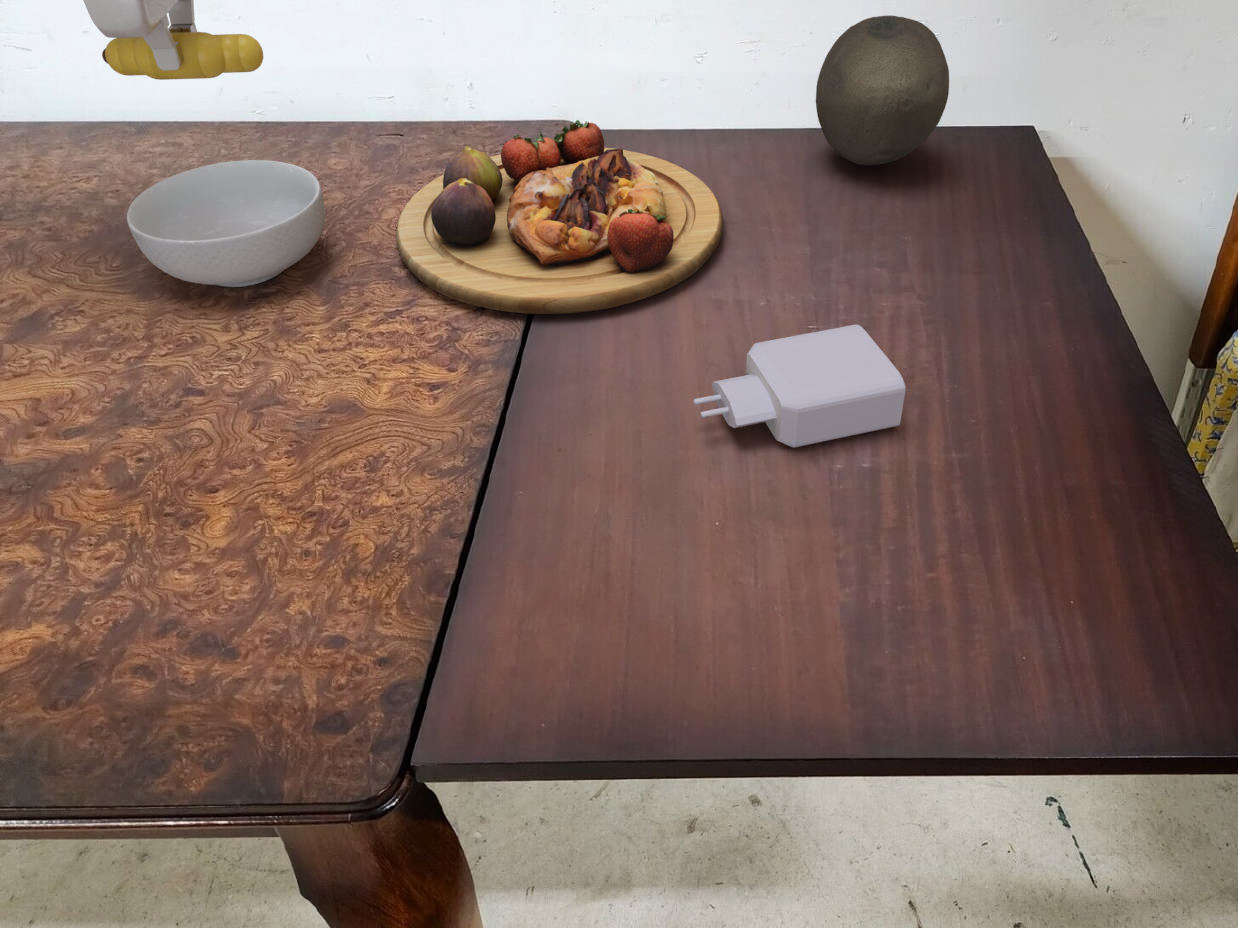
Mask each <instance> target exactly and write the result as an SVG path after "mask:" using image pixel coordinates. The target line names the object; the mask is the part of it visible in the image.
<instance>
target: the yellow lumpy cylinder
mask: <svg viewBox="0 0 1238 928" xmlns="http://www.w3.org/2000/svg"><path fill="white" fill-rule="evenodd" d="M171 35H172V37H173V39H174V41H175V42H179V45H180V48H181V53H182V55H183V58H184V60H183V63H182V64H181V66H180V67H179V68H178V69H177V70H165V71H163V70H161V69H159V67H158V66H157V64H156V61H155V58H154V55H153V52H152V49H151V48H150V47H149V45H148V44H147V43H146V41H145V40H144V38H143V37H131V38H112V39H111V40H110V41H109V42H108V43H107V44H106V47H105V48H104V49H103V50H102V51H101V56H102V59H103V61H104V62H105V63H106V65H107V64H108V66H109V67H110V68H111V69H112V70H113V71H114V72H116V73H117V74H119V75H122V76H126V77H127V76H146V77H149V78H150V79H153V80H159V81H160V80H161V81H164V80H165V81H166V80H169V81H170V80H197V79H198V80H199V79H201V80H203V79H213V78H217V77H219V76H220V75H222V74H230V73H231V74H232V73H234V74H235V73H251V72H255V71H256V70H258V69H260V67H261V66H262V63H263V61H264V51H263V47H262V46H261V44H260V42H259V41H258V40H257V39H256V38H255V37H253V36H251V35H250V34H245V33H227V34H226V33H225V34H222V33H221V34H211V33H210V32H206V31H205V32H204V31H197V32H182V33H171Z"/></svg>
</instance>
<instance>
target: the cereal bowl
mask: <svg viewBox="0 0 1238 928" xmlns="http://www.w3.org/2000/svg"><path fill="white" fill-rule="evenodd" d="M325 215H326V209H325V201H324V195H323V190H322V187H321V183H320V182H319V180H318V178H317V177H316V176H315V175H314V174H313V173H312V172H311V171H309V170H307V169H306V168H304V167H301V166H298V165H296V164H293V163H289V162H283V161H280V160H279V161H277V160H269V159H244V160H243V159H242V160H241V159H240V160H230V161H223V162H217V163H216V162H215V163H211V164H207V165H202V166H199V167H194V168H190V169H188V170H184V171H182V172H178V173H176V174H173V175H171V176H168V177H165V178H164V179H162V180H159V181H158V182H156V183H154V184H152V185H150V186H149V187H148V188H146V189H145V190H143V191H142V192H141V193H140V194H139V195H138V196H136V197H135V198H134V199H133V200H132V202H131V203H130V205H129V207H128V209H127V213H126V221H127V225H128V229H129V231H130V232H131V235H132V237H133V239H134V241H135V242H136V245H137V247H138V248H139V250H140V252H142V255H144V256H145V257H146V259H147V260H148V261H149V262H150V263H151V264H152V265H154V266H155V267H156V268H158V269H159V270H161V271H162V272H163V273H165V274H168V275H169V276H171V277H174V278H175V279H179V280H181V281H185V282H188V283H194V284H201V285H210V286H219V287H225V288H226V287H227V288H240V287H241V288H242V287H249V286H253V285H257V284H261V283H264V282H267V281H269V280H272V279H274V278H275V277H277V276H278V275H280V274H281V273H283V271H285V270H286V269H288V268H290V267H292V266H294V265H295V264H296V263H298V262H300V261H301V260H302V259H303V258H304V257H306V255H308V254H309V253H310V252H311V251H312V249H313V248H315V246H316V244H317V243H318V241H319V240H320V238H321V235H322V233H323V229H324V226H325V221H326V216H325Z"/></svg>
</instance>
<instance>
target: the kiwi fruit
mask: <svg viewBox="0 0 1238 928" xmlns="http://www.w3.org/2000/svg"><path fill="white" fill-rule="evenodd" d="M815 88H816V89H815V109H816V115H817V120H818V122H819V126H820V128H821V130H822V133H823V136H824V139H825V140H826V141H827V143H828V144H829V146H830V147H831V149H832V150H833V151H834V152H835V153H836V154H838V155H839V156H840V157H842V158H843V159H845V160H847V161H849V162H851V163H853V164H857V165H860V166H880V165H885V164H888V163H893V162H896V161H898V160H900V159H902V158H904V157H905V156H907V155H909V154H910V153H911V152H913V151H914V150H916V149H917V148H919V147H920V146H921V145H922V144H923V143H924V142H926V140H927V139H928V138H929V137H930V136H931V135H932V133H933V132H934V130H935V129H936V128H937V127H938V125H939V123H940V121H941V120H942V119H941V118H942V117H943V114H944V112H945V110H946V106H947V103H948V99H949V93H950V69H949V65H948V62H947V58H946V55H945V53H944V49H943V47H942V45H941V43H940V40H939V38H937V36H936V34H935V33H934V32H933V30H931V29H930V28H929V27H928V26H926V25H925V24H924V23H922V22H920V21H918V20H915V19H912V18H910V17H909V18H907V17H904V16H897V15H892V14H891V15H877V16H872V17H868V18H865V19H863V20H861V21H858V22H857V23H854V25H851V26H849V27H848V28H847V29H846V30H845V31H843V33H842V34H840V36H839V37H838V38H837V39H836V40H835V41H834V43H833V45H832V46H831V47H830V49H829V51H828V52H827V54H826V56H825V57H824V61H823V62H822V65H821V67H820V71H819V74H818V77H817V82H816V87H815Z"/></svg>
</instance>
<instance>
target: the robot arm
mask: <svg viewBox="0 0 1238 928" xmlns="http://www.w3.org/2000/svg"><path fill="white" fill-rule="evenodd" d="M82 1H83V3H84V6H85V8H86V10H87V12H88V15H89V18H90V19H91V21H92V23H93V24H94V26H95V27H96V28H97V29H98V31H100V32H101V34H102V35H103V36H104V37H106V38H109V39H115V38H131V37H143V38H144V40H145V41H146V43H147V44H148V45H149V47H150V48H151V49H152V52H153V55H154V58H155V61H156V64H157V66H158V67H159V69H161V70H163V71H165V70H177V69H178V68H179V67H180V66H181V64H182V63H183V60H184V58H183V55H182V53H181V48H180V45H179V42H175V41H174V39H173V37H172V35H171V33H182V32H198V29H197V26H196V22H195V21H196V20H195V4H194V0H82Z"/></svg>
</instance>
